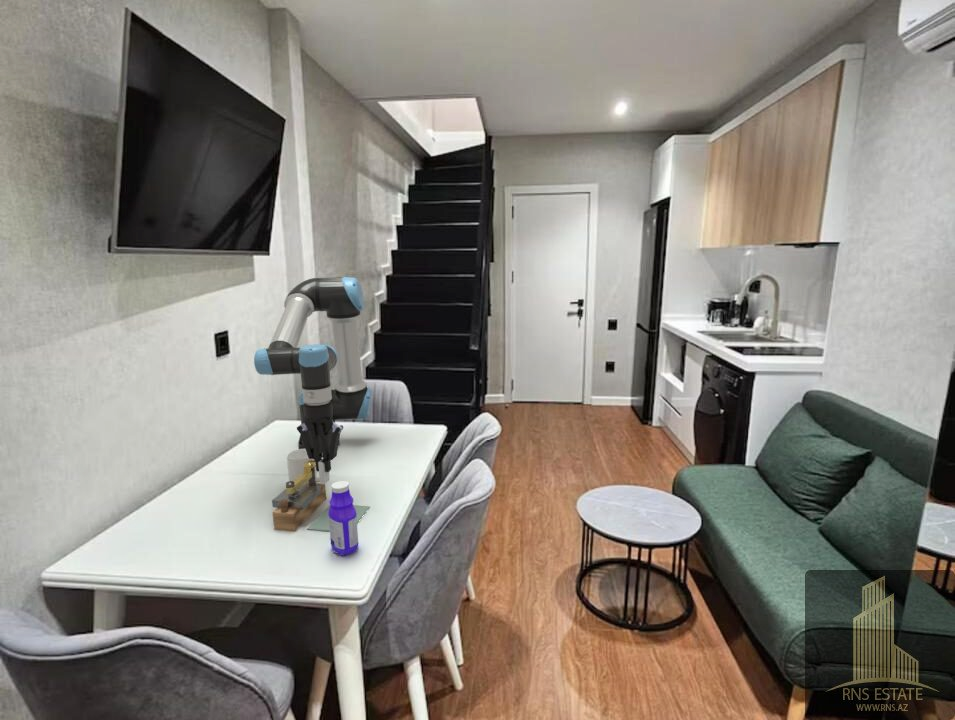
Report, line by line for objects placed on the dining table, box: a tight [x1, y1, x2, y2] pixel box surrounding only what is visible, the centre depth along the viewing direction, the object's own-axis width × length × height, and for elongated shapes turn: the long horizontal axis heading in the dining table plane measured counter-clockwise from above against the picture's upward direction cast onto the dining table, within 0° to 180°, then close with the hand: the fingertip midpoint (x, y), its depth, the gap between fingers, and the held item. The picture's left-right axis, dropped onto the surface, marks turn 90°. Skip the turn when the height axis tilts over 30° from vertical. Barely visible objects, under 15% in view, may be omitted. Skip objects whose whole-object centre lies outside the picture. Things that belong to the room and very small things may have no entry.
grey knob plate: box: [271, 485, 321, 510], centre depth 139 cm, size 10×9×3 cm
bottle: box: [328, 480, 359, 556], centre depth 122 cm, size 7×6×17 cm
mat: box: [307, 504, 371, 533], centre depth 139 cm, size 14×12×1 cm
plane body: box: [272, 468, 327, 532], centre depth 141 cm, size 18×6×11 cm, turn 170°
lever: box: [285, 460, 316, 494], centre depth 141 cm, size 14×4×4 cm, turn 170°
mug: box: [286, 448, 320, 484], centre depth 158 cm, size 9×12×11 cm
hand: (324, 481), depth 141 cm, fingers closed
